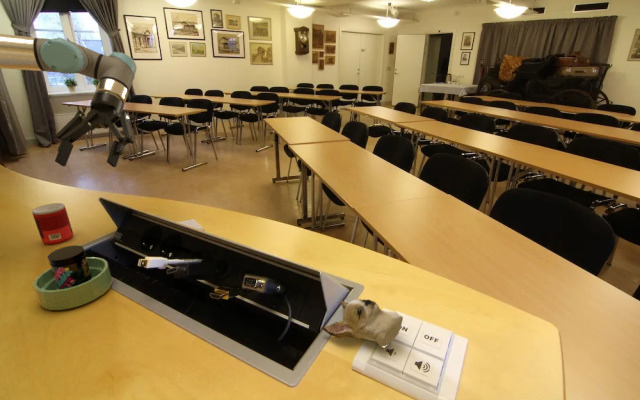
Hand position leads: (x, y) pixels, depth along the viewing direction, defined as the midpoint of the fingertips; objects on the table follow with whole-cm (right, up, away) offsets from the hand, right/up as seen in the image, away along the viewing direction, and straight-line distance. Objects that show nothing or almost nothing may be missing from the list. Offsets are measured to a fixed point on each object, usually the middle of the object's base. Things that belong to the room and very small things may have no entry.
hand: (85, 164), depth 83 cm
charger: (+20, -23, +17) cm, 35 cm away
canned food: (-23, -22, +19) cm, 37 cm away
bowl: (+2, -32, -5) cm, 32 cm away
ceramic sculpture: (+70, -37, -17) cm, 81 cm away
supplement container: (+2, -31, -6) cm, 32 cm away
